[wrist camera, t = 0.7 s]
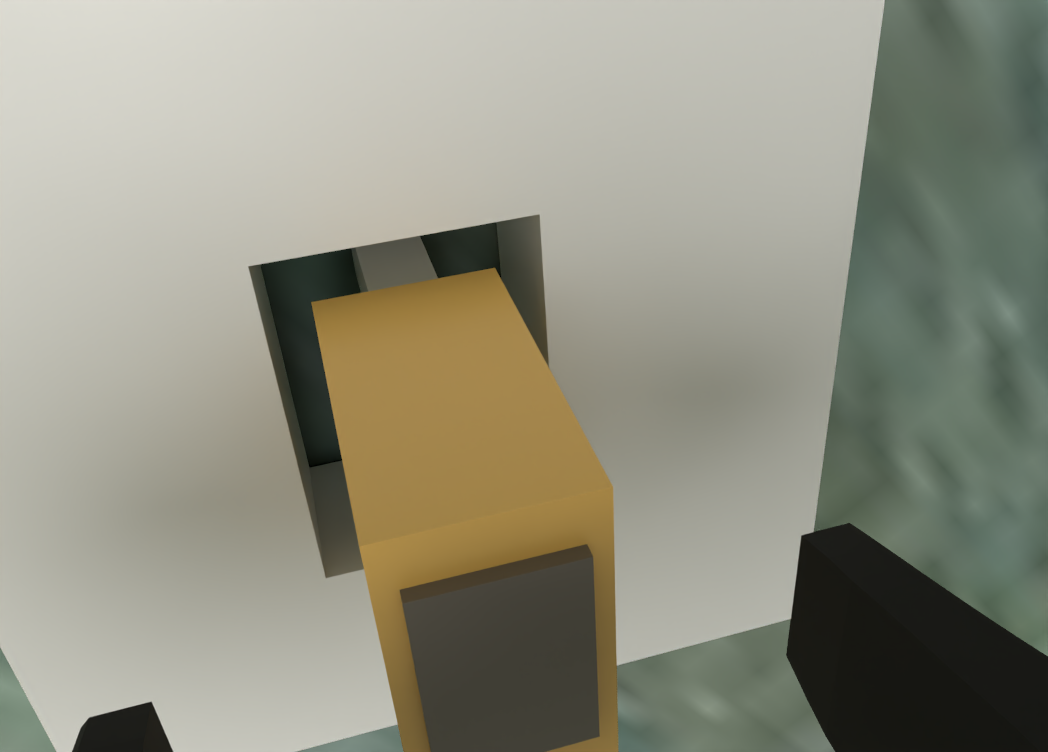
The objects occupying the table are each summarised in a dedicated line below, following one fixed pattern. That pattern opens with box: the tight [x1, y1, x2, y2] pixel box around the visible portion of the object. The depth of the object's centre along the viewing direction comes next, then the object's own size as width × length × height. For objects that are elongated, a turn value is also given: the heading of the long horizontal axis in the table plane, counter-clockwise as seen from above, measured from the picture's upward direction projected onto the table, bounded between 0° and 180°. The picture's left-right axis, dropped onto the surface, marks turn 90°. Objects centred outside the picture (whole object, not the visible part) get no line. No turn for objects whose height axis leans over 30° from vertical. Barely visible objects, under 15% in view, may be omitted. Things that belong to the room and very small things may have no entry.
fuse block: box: [0, 0, 885, 752], centre depth 16 cm, size 14×14×3 cm
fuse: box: [311, 236, 618, 752], centre depth 14 cm, size 3×4×8 cm, turn 5°
